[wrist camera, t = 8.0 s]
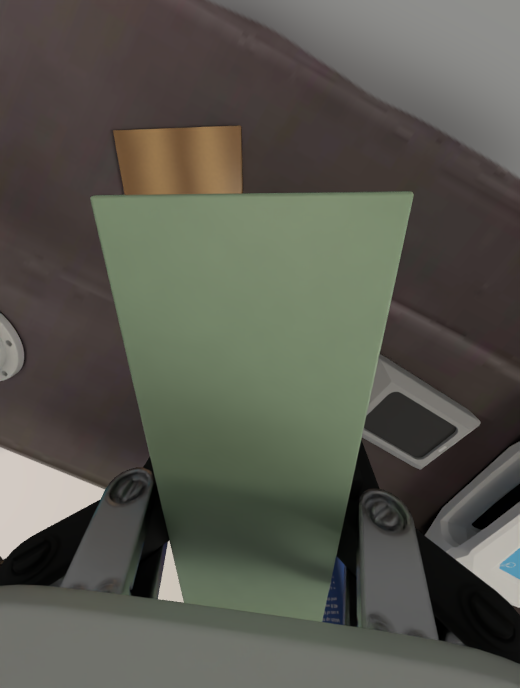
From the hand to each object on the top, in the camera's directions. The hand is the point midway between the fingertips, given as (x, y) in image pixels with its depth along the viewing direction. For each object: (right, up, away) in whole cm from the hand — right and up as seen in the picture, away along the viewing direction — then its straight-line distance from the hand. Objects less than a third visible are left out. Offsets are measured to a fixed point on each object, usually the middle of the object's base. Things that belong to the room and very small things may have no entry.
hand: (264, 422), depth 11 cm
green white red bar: (0, +1, 0) cm, 1 cm away
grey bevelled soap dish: (+17, -5, +21) cm, 28 cm away
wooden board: (-8, +15, +15) cm, 23 cm away
